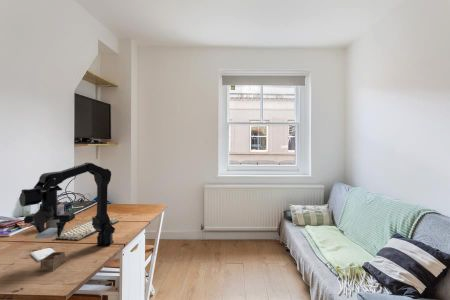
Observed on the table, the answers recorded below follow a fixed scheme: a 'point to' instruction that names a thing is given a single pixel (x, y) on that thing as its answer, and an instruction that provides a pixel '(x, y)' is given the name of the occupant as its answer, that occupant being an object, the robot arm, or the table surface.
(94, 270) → the table surface
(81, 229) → the mechanical keyboard
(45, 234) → the lid
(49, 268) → the box
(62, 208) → the pillar candle
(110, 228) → the robot arm
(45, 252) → the external hard drive
